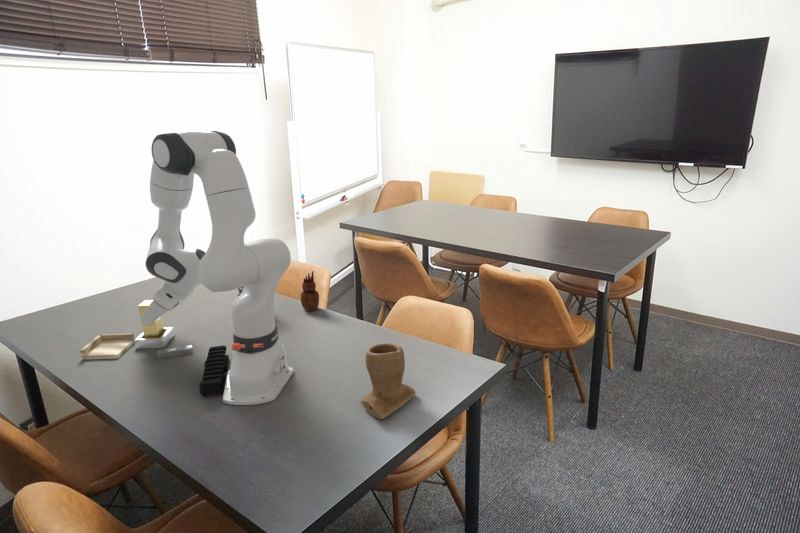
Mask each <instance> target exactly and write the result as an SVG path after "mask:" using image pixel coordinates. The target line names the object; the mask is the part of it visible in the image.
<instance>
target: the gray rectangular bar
mask: <svg viewBox="0 0 800 533" xmlns="http://www.w3.org/2000/svg"><path fill="white" fill-rule="evenodd" d="M193 351H194V348H193V345H192V344H190V345H184V346H183V345H182V346H176V347H172V348H167V349H166V348H165V349H160V350H159V349H158V350H157V352H156V356H157V360H161V359H166V358H170V357H171V358H172V357H177V356H183V355H188V354H193Z"/></svg>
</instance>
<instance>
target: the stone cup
mask: <svg viewBox="0 0 800 533" xmlns="http://www.w3.org/2000/svg"><path fill="white" fill-rule="evenodd" d="M405 363H406V361H405V353H404V349H403V347H402V346H401V345H398V344H395V343H392V342H391V343H390V342H389V343H388V342H387V343H385V342H384V343H378V344H375V345H372V346H370V347H369V348H368V349H367V350H366V352H365V365H366V369H367V373H368V375H369V377H370V382H371V385H372V391H371V392H370V393H369V394H368V395H366V396H365V397H364V398H362V399H361V400H360V404H361V405H362V406H363V407H364V409H365V410H366V411H367V412H368V413H369V414H370V415H372V416H373V417H375V418H377V419H380V420H381V419H384V418H386V417H388V416H389V415H391V414H392V413H394V412H395V411H397V410H398V409H400V408H401V407H402V406H403V405H405V404H406V403H408V402H409V401H410V400H411V399H412V398H413V397H414V396H415V395H416V390H415V389H414V388H413V387H411V386H409V385H408V384H406V383H405V384H404V383H403V378H404V373H405V368H406V366H405V365H406V364H405Z"/></svg>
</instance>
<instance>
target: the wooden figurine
mask: <svg viewBox="0 0 800 533" xmlns="http://www.w3.org/2000/svg"><path fill="white" fill-rule="evenodd" d="M310 275H311V276H310ZM314 278H315V277H314V271H313V270H312V271H311V274H310V272H308V273H307V275H306V276H305V277H304V278H303V281H302V285H301V288H302V291H301V293H300V303H301V306H302V308H303V310H306V311H307V312H308V311H309V312H310V311H315V310H317V309H318V307H319V305H320V304H319V303H320V294H319V292H318V291H317V290H316V282H315V280H314Z"/></svg>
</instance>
